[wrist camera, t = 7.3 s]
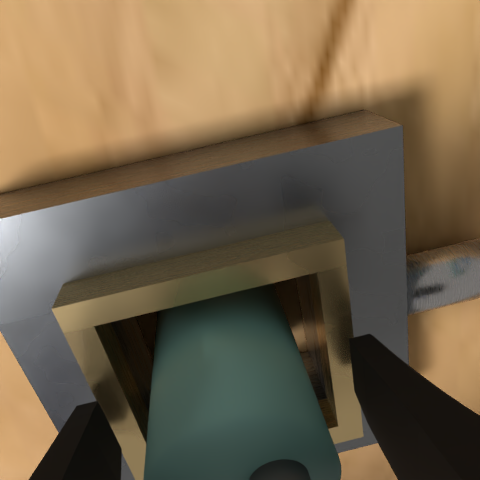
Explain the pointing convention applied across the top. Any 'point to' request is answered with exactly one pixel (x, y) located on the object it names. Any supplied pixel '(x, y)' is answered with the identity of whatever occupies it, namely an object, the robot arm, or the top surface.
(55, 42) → the top surface
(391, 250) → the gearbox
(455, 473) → the robot arm
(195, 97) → the top surface
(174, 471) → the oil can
